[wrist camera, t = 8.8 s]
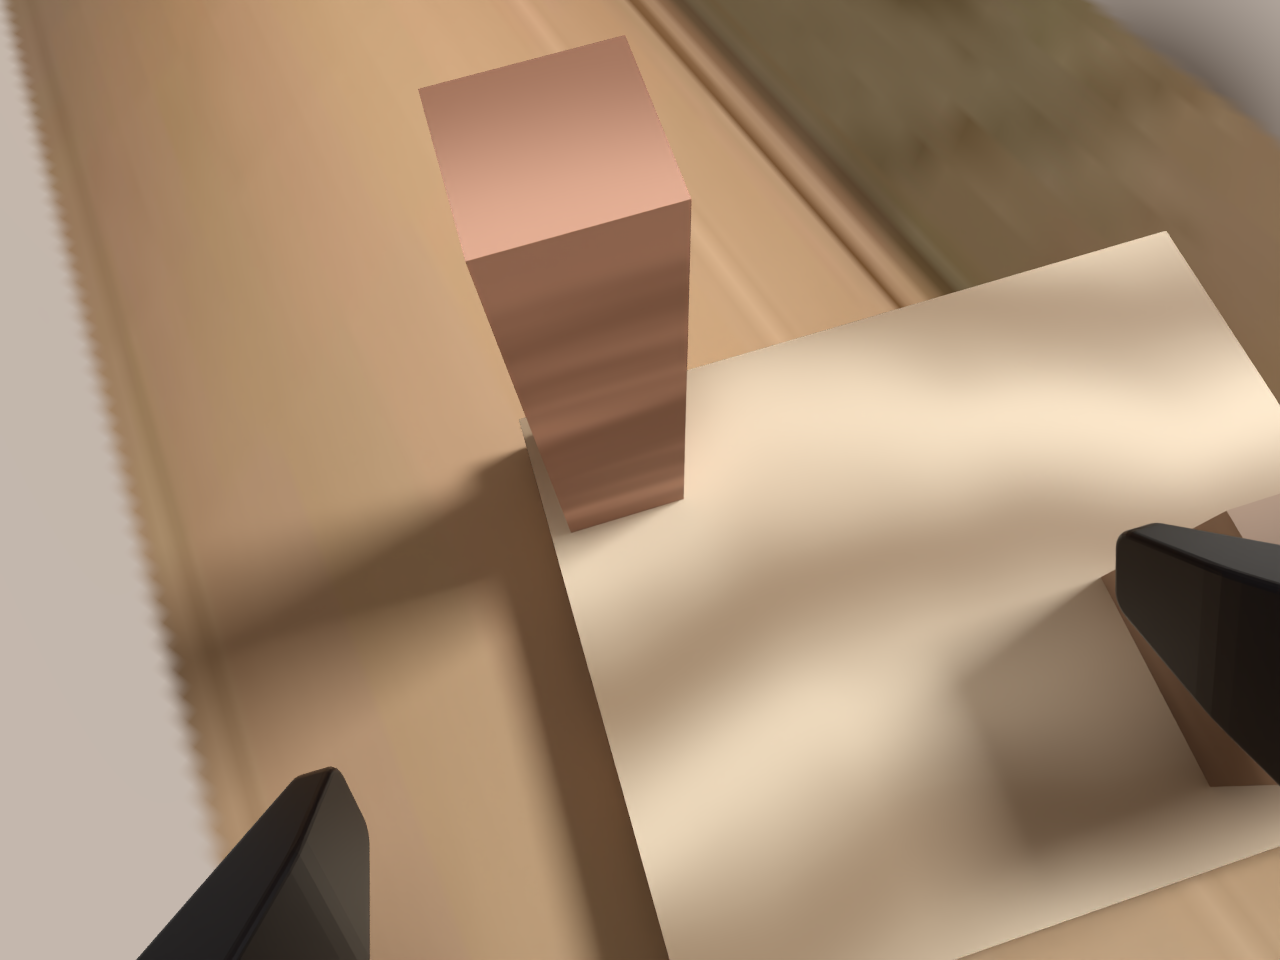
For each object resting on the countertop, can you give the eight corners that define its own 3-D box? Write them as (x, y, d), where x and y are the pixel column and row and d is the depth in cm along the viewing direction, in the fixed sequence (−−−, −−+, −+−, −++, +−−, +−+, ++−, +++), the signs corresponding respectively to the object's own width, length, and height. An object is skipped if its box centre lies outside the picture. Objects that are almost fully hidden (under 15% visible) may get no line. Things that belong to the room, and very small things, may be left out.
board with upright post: (1454, 767, 20) (2657, 712, 8) (693, 1032, 19) (726, 1459, 7) (1138, 262, 25) (1566, -236, 13) (528, 441, 24) (376, 72, 12)
